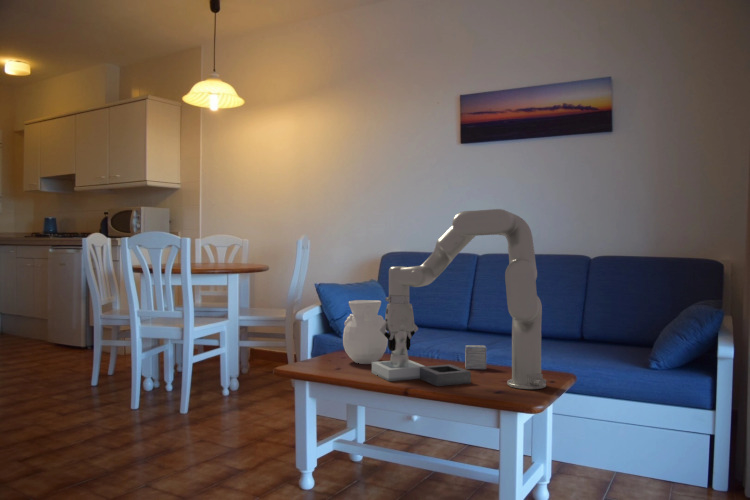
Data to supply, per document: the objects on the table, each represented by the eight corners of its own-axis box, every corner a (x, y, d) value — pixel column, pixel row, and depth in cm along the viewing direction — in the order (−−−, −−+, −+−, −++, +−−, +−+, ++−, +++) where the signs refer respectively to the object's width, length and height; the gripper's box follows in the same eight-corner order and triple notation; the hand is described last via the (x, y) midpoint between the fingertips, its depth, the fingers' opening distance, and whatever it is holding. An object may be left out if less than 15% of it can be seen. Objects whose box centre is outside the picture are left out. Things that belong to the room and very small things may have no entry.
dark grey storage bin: (470, 383, 198) (470, 371, 198) (437, 386, 193) (437, 374, 193) (450, 375, 211) (450, 364, 211) (418, 378, 206) (418, 366, 206)
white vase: (342, 358, 246) (342, 299, 246) (385, 357, 247) (385, 299, 247) (343, 366, 227) (343, 303, 227) (390, 366, 229) (390, 302, 229)
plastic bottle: (409, 369, 208) (409, 313, 208) (390, 368, 208) (390, 313, 208) (408, 365, 214) (408, 311, 214) (389, 365, 214) (390, 311, 214)
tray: (427, 378, 206) (427, 366, 206) (388, 381, 201) (388, 369, 201) (408, 369, 221) (408, 359, 221) (371, 372, 216) (371, 362, 216)
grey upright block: (485, 367, 226) (485, 345, 226) (486, 369, 222) (486, 347, 222) (465, 367, 227) (464, 345, 227) (465, 369, 222) (465, 346, 222)
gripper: (381, 301, 204) (381, 353, 204) (424, 300, 211) (425, 350, 211) (373, 300, 211) (373, 349, 211) (415, 298, 218) (415, 347, 218)
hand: (399, 349), depth 211 cm, fingers closed on plastic bottle, 5 cm apart
